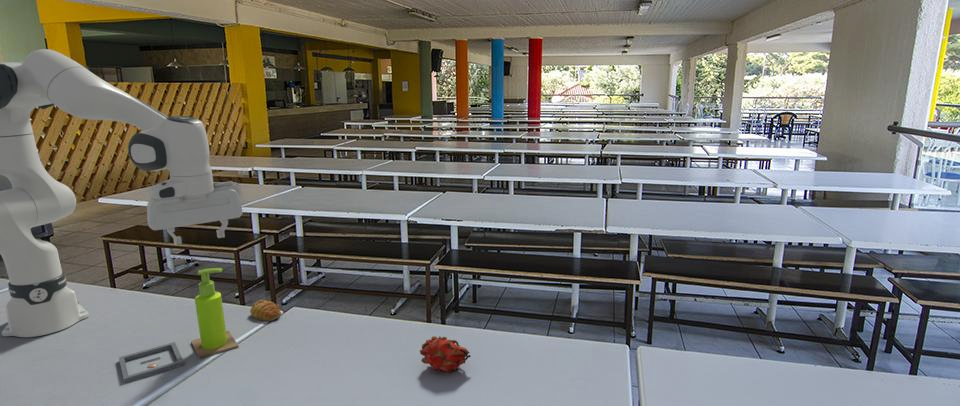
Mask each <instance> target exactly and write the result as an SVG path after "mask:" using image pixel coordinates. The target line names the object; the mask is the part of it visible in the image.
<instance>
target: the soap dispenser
mask: <svg viewBox="0 0 960 406" xmlns="http://www.w3.org/2000/svg"><path fill="white" fill-rule="evenodd" d="M222 272H223V268H222V267H210V268H209V267H208V268H203V269H199V270H198V271H197V275H199V276H201V281H200V282H199V283H198V288H199V289H198V290H199V294H197V295H196V296H195V297H194V303H195V310H196V316H197V323H198V330H199V331H198V332H199V339H200V338H201V345H202V348H204V349H216V348H219V347H221V346H223V345H225V344H226V343H227V336H226V331H227V329H226V322H225V313H224V307H223V305H224V304H223V298H222V294H221V292H219V291H216V290H215V282H214V280H211V279H210V274H212V273H213V274H214V273H217V274H218V273H222Z"/></svg>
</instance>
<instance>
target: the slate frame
mask: <svg viewBox="0 0 960 406" xmlns="http://www.w3.org/2000/svg"><path fill="white" fill-rule="evenodd" d="M167 350H172V352H173V354H174V357H175V359H176V361H174V362H170V363H167V364H163V365H160V366H158V363H157V362H156V363H151V362H154V361H157V360H160V359H161V357H160V356H159V357H154V358H151V359H148V360H144V361H141V362H140V364H141V365H143V364H145V363H146V364H147V363H150V364H149V365H147V368H148V369H146V370H143V371H140V372H136V373H133V374H129V371H128V368H127V364H126V362H127V361H131V360H134V359H138V358H142V357H145V356H149V355H152V354H157V353H159V352H165V351H167ZM118 361H119V365H120V369H121V373H122V378H123V383H124V384H125V383H129V382H132V381H135V380H139V379H143V378H145V377H149V376H153V375H155V374H158V373H162V372H165V371H169V370H172V369H176V368H179V367H182V366H185V361H184V359H183V357H182V355H181V353H180V350H179V348H178V345H177V344H176V342H175V341H173V342H170V343H166V344H163V345H158V346H155V347H151V348H148V349H144V350H140V351H137V352H134V353H129V354H126V355H121V356H119V357H118Z"/></svg>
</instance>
